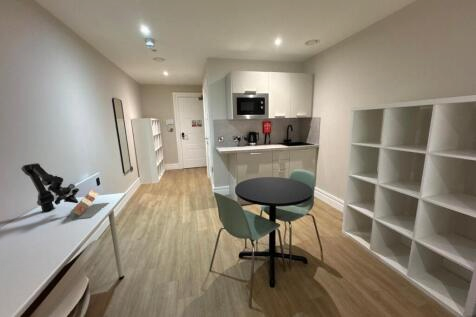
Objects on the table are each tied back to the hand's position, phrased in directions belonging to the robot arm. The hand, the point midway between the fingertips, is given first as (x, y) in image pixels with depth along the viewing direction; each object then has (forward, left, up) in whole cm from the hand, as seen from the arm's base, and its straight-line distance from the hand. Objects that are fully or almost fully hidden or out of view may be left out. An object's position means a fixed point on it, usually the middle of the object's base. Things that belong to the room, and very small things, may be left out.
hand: (77, 202), depth 149 cm
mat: (+8, 0, -8) cm, 11 cm away
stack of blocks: (0, +1, -5) cm, 5 cm away
